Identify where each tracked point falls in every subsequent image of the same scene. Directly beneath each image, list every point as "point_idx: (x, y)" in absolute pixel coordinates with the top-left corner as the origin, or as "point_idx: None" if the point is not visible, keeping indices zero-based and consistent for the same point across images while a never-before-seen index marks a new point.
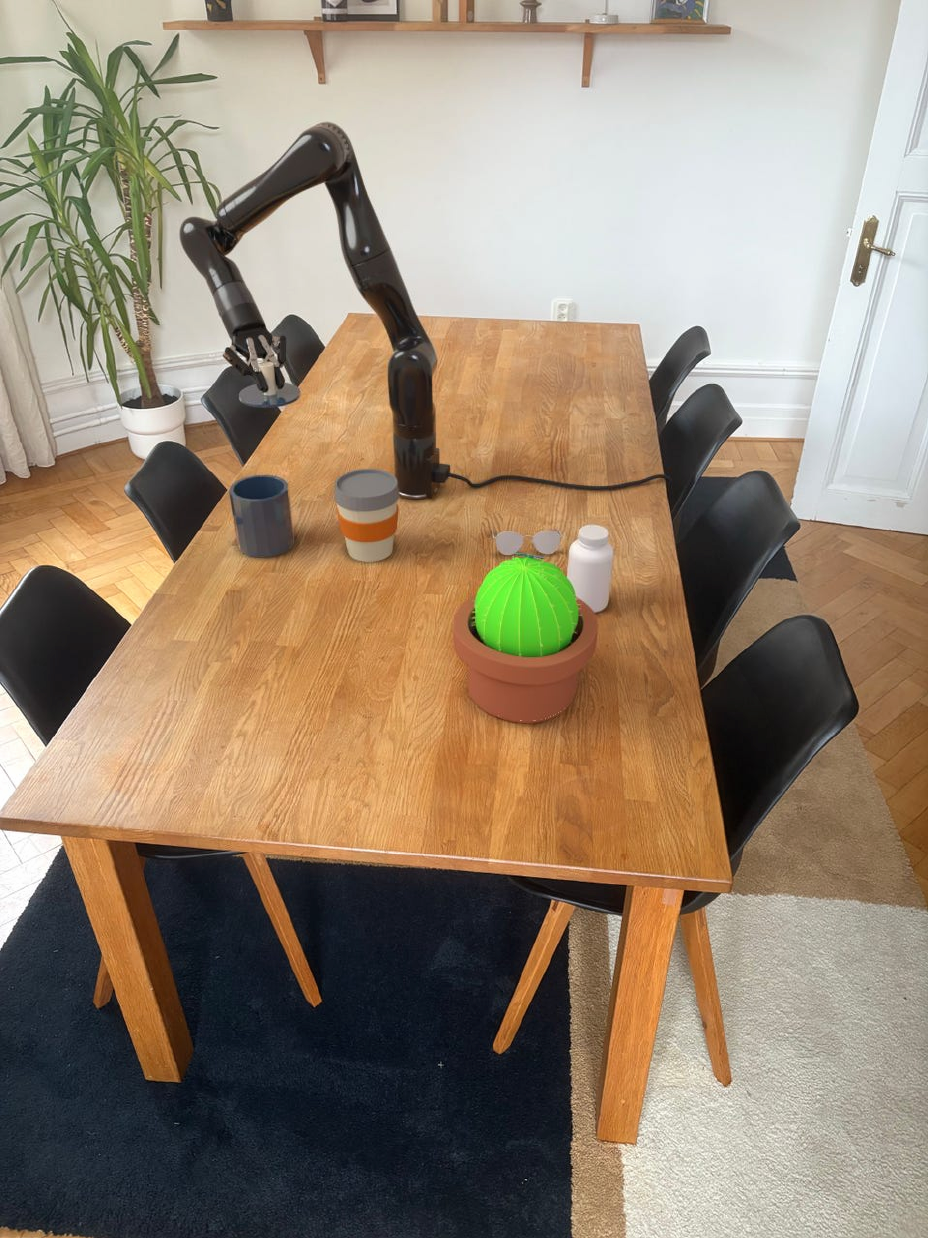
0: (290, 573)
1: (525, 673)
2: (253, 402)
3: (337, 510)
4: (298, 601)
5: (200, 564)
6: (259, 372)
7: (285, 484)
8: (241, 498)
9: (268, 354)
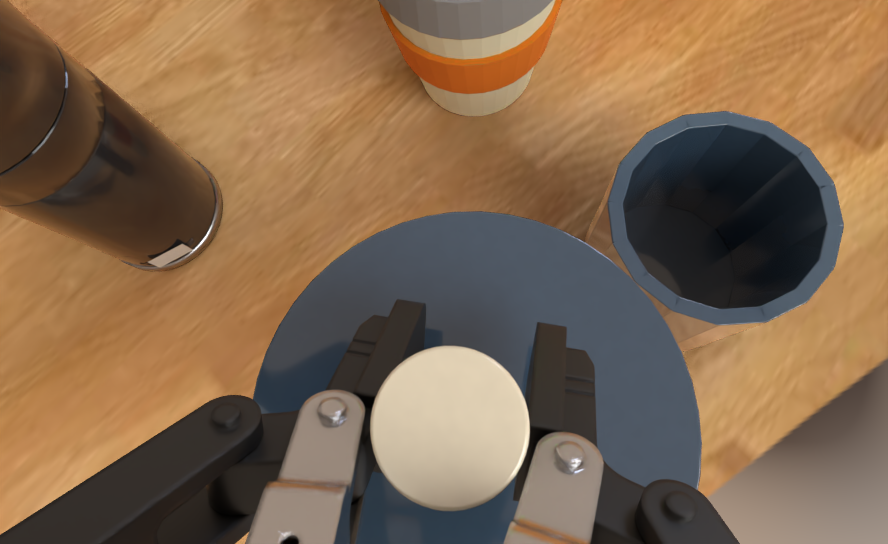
0: (695, 111)
1: None
2: (661, 362)
3: (542, 30)
4: (750, 7)
5: (871, 310)
6: (553, 423)
7: (630, 165)
8: (825, 186)
9: (343, 498)
